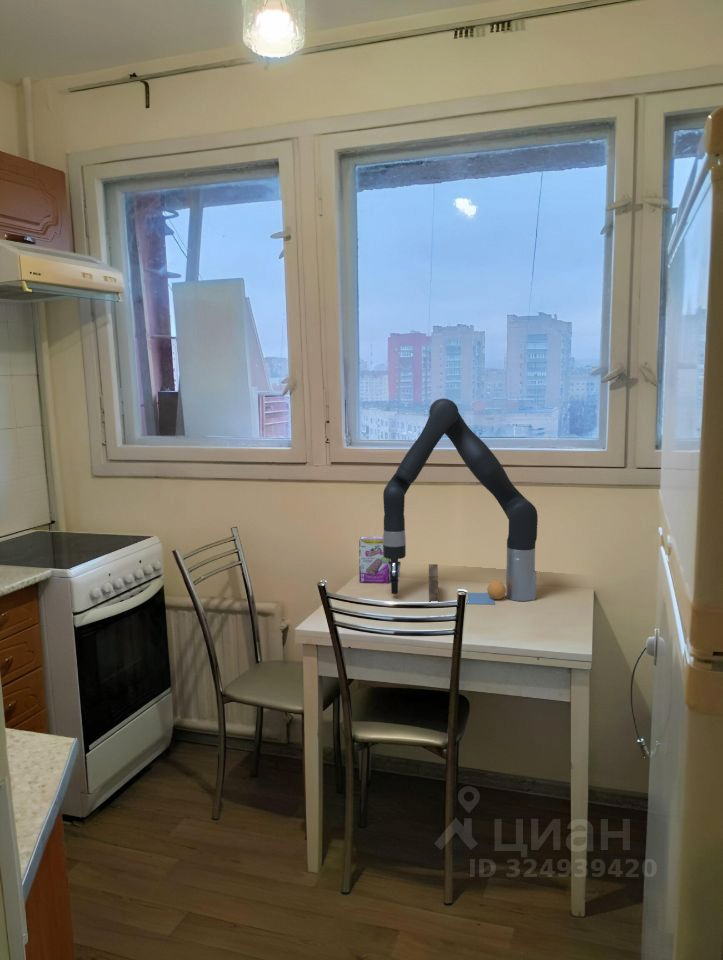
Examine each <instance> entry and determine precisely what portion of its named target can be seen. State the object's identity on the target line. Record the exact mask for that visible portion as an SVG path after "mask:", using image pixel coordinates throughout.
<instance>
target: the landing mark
mask: <svg viewBox="0 0 723 960" xmlns="http://www.w3.org/2000/svg"><path fill="white" fill-rule="evenodd" d="M467 593H468V599H467V604H466V605H496V602H495V599H493V598H491V597H490V596H489V594H488V592H467ZM468 601H469V602H468Z"/></svg>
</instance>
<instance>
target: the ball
mask: <svg viewBox="0 0 723 960" xmlns="http://www.w3.org/2000/svg"><path fill="white" fill-rule="evenodd" d="M486 592H487V593H488V594H489V596H490V597H491V598H493V599H494V600H500V599H502V598H504V597H505V596H506V585H505V584H503V582H501V581H498V580H495V581H494V580H493V581H492V582H490V583H489V584H488V587H487V591H486Z"/></svg>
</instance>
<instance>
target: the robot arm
mask: <svg viewBox="0 0 723 960" xmlns="http://www.w3.org/2000/svg"><path fill="white" fill-rule="evenodd" d="M428 411H429V412H428V413H429V414H428V419H427V421H426V423H425V426H423V429H422V431H421V433H420V435H419V436H418V437H417V439H416V440H415V441H414V443H413V444H412V446H411V447H410V448H409V450H408V451H407V453H406V454H405V455H404V457H403V459H402V460H401V462H400V464H399V465H398V467H397V469H396V472H395V473H394V475H392V477H391V479H390V480H389V481H388V483H387V484H386V486H385V487H384V489H383V492H382V493H383V494H382V495H383V496H382V497H383V498H382V500H383V514H384V515H383V532H382V533H383V535H382V537H383V556H384V557H385V558H387V559H390V561H389V563H388V568H389V576H390V582H389V583H390V584H391V585H390V586H391V590H390V591H391V595H397V594H399V581H400V580H399V578H400V574H401V571H400V569H401V561H399V559H401V560H402V559H405V558H406V555H407V554H406V550H407V549H406V548H407V544H406V543H407V541H406V540H407V539H406V528H405V527H406V526H405V500H406V499H405V498H406V497H405V495H406V494H407V492H408V490H409V488H410V487H411V486H412V483H414V482H415V481H416V479H417V478H418V477H419V475H420V473H421V471H422V470H423V469H424V466H425V465H426V463H427V461H429V458H430V456H431V454H432V453H433V451H434V449H435V448H436V446H437V444H438V443H439V442H440V440H441V439H442V437H443V436H444V435H445V436H447V438H448V439H449V440H450V442H451V443H452V444H453V446H454V447H455V449H456V451H457V452H458V455H459V456H460V458H461V459H462V461H463V462H464V463H465V465H466V466H467V468H468V470H470V472H471V473H472V475H473V476H474V477H475V478H476V479H477V480H478V481H479V483H480V484H481V485H482V487H484V488H485V489H486V490H487V491H488V492H489V493H490V494H491V495H492V496H493V497H494V498H495V500H496V501H497V502H498V504H499V505H500V506H499V507H501V509H502V510H503V512H504V514H505V515H506V518H507V519H508V534H507V539H506V572H505V573H506V574H505V575H506V577H505V579H506V581H505V583H506V584H505V588H506V593H505V596H506V598H507V599H508V600H511V601H517V602H529V601H535V600H536V592H537V591H536V589H537V588H536V583H537V572H536V568H535V567H536V541H537V539H538V538H537V537H538V523H539V522H538V516H539V515H538V510H537V508H536V506H535V505H534V504H533V503H532V502H531V501H530V500H529V499H527V498H526V497H525V496H524V495H523V494H522V493H521V492H520V491H519V490H518V489H517V488H516V487H515V486H514V484H513V483H512V481H511V480H510V478H509V476H508V475H507V472H506V471H505V469H504V467H503V466H502V464H501V462H500V461H499V459H498V458H497V457H496V455H495V454H494V453H493V452H492V450H491V449H490V448H489V447H488V445H487V444H486V443H485V442H484V441H483V440H482V439H481V438H480V437H479V436H478V435H477V434H476V433H475V432H474V431H473V430H472V429H470V426H468V425H467V423H466V421H465V420H464V419H463V417H462V416H461V413H460V411H459V408H458V405H457V404H456V403H455V402H454V401H453V400H451V399H447V398H438V399H436V400H435V401H434V402H432V403H431V404H430V408H429V410H428Z"/></svg>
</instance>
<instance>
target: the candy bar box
mask: <svg viewBox="0 0 723 960" xmlns="http://www.w3.org/2000/svg"><path fill="white" fill-rule="evenodd" d="M358 541H359V547H358V548H359V551H358V552H359V558H358V559H359V560H358V561H359V566H358V567H359V570H358V571H359V574H358V575H359V576H358V577H359V583H364V584H366V583H367V584H373V583H374V584H389V583H391V582H390V576H389V568H388V563H389V561H391V559H387V558H385V557H384V556H383V536H360V537H359V539H358Z"/></svg>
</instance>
